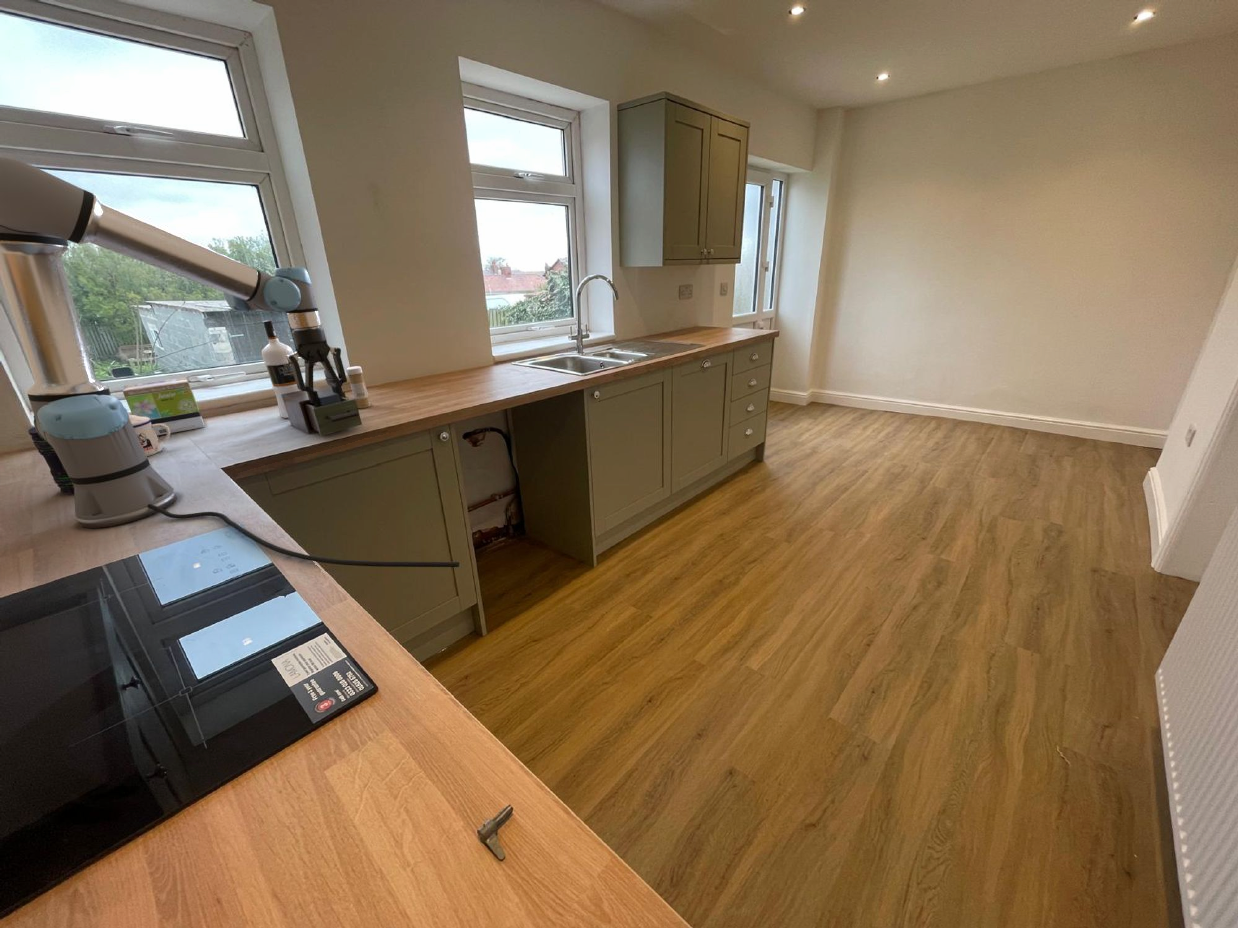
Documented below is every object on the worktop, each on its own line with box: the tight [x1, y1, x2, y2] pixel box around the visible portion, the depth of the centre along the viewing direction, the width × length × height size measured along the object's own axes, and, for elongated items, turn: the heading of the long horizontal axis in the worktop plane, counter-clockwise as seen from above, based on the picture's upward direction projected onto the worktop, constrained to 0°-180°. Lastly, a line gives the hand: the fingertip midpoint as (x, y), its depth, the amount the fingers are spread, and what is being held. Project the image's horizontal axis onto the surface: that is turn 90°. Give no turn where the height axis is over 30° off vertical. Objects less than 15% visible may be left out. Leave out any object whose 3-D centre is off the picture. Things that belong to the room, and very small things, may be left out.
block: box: [318, 392, 341, 406], centre depth 144 cm, size 5×5×5 cm
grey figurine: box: [323, 369, 343, 390], centre depth 179 cm, size 6×6×12 cm
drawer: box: [303, 397, 363, 436], centre depth 145 cm, size 18×11×8 cm, turn 49°
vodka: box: [261, 319, 301, 419], centre depth 158 cm, size 9×9×30 cm
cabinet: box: [281, 384, 347, 435], centre depth 152 cm, size 15×13×10 cm
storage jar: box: [27, 426, 74, 496], centre depth 114 cm, size 10×10×15 cm
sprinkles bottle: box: [345, 365, 371, 409], centre depth 167 cm, size 5×5×14 cm
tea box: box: [122, 376, 205, 436], centre depth 152 cm, size 15×10×15 cm, turn 131°
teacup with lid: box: [128, 412, 171, 457], centre depth 134 cm, size 12×9×12 cm
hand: (330, 410), depth 145 cm, fingers closed on block, 5 cm apart
